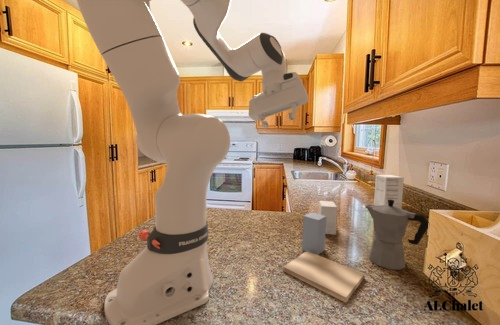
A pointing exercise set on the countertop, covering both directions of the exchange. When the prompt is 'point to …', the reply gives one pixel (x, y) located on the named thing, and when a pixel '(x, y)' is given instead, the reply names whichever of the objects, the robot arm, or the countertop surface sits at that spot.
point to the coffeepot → (392, 234)
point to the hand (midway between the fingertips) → (278, 123)
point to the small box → (329, 215)
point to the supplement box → (388, 190)
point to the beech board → (325, 275)
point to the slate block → (314, 233)
